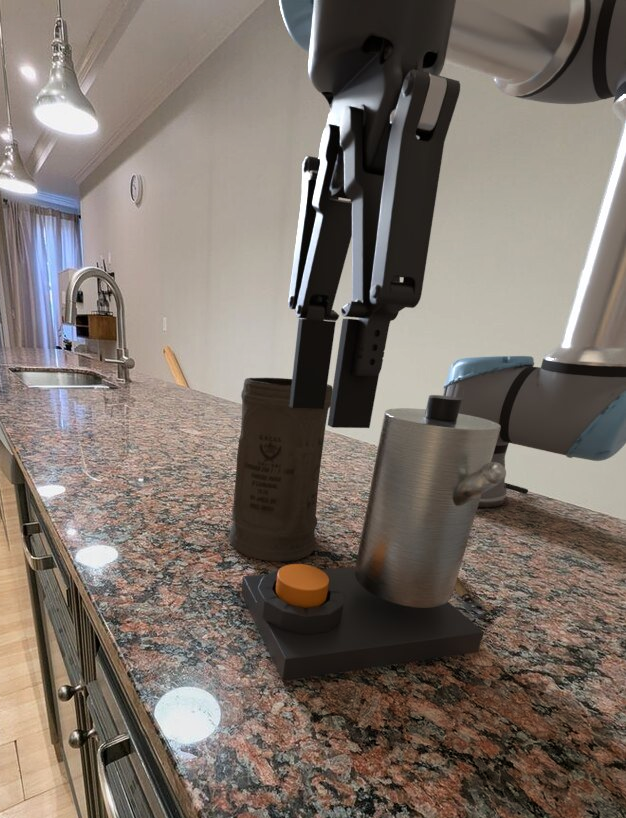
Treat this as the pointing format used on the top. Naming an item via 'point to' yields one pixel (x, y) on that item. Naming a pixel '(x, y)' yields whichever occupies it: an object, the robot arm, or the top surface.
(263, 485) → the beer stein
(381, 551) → the kettle
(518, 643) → the top surface
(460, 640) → the kettle base
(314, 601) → the kettle button
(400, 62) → the robot arm
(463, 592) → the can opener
